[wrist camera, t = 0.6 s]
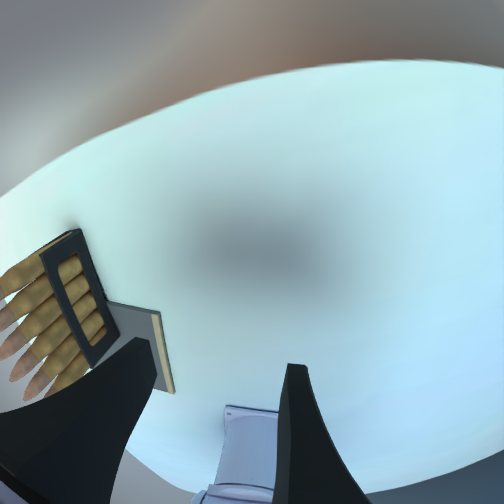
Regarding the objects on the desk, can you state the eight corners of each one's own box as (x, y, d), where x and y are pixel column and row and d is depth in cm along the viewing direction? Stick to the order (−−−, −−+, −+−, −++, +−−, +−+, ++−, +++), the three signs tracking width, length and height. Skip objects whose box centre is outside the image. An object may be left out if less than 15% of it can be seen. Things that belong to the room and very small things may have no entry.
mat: (175, 391, 28) (173, 394, 27) (80, 361, 29) (78, 364, 29) (159, 312, 23) (157, 315, 22) (51, 286, 24) (49, 289, 24)
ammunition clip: (66, 230, 21) (-40, 296, 10) (80, 227, 21) (-32, 297, 10) (106, 335, 25) (37, 422, 14) (120, 336, 24) (51, 429, 13)
